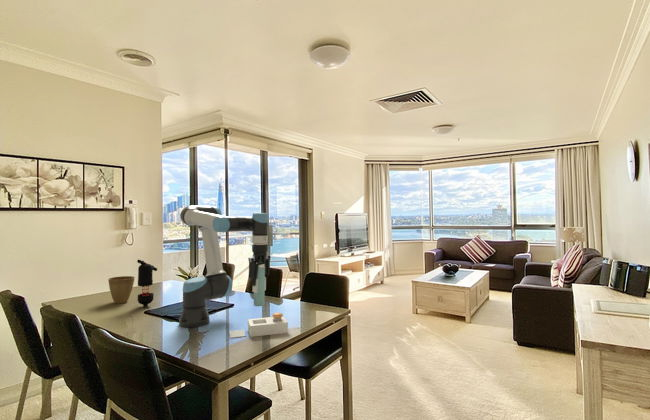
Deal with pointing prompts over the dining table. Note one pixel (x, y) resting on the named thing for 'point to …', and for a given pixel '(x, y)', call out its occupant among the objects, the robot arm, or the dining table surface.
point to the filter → (145, 282)
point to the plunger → (277, 316)
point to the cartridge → (260, 286)
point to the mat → (237, 333)
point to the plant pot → (121, 288)
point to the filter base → (267, 326)
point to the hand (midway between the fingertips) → (259, 290)
